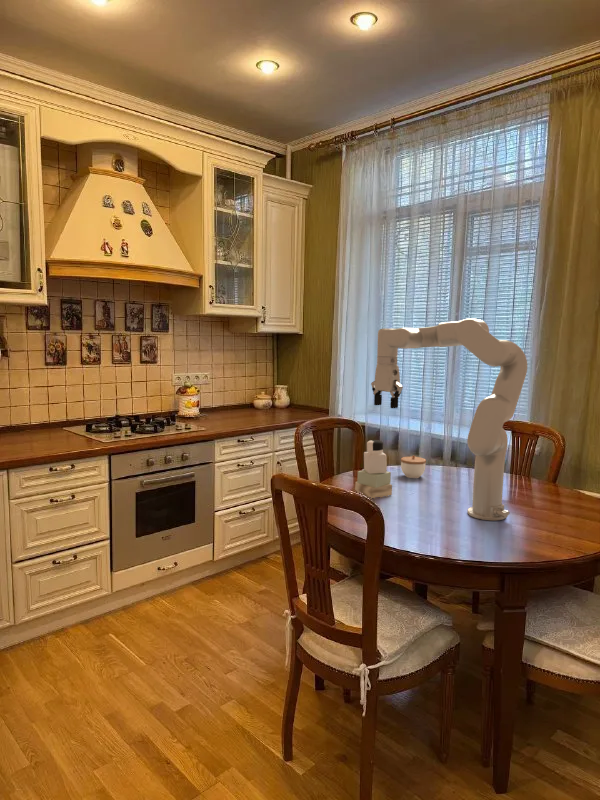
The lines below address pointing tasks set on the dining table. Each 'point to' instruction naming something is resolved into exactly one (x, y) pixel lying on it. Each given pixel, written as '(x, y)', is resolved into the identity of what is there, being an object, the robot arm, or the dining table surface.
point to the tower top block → (374, 479)
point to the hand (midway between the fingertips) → (385, 406)
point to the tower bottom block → (373, 490)
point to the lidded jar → (413, 466)
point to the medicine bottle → (375, 458)
